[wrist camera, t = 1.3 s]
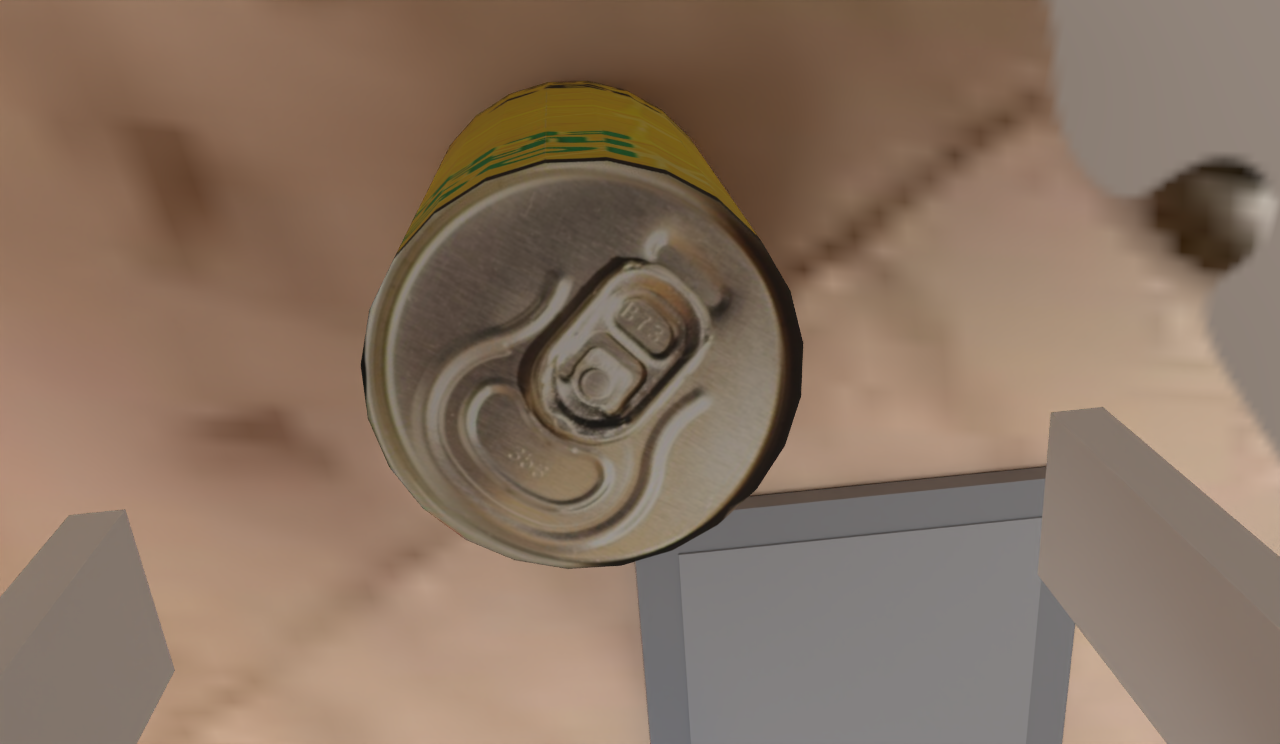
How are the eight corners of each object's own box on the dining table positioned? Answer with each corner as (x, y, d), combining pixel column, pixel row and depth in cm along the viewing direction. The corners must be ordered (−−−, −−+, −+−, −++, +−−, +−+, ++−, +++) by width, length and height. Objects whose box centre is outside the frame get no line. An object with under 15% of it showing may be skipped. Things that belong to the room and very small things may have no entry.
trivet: (659, 851, 42) (661, 869, 42) (630, 508, 36) (632, 521, 35) (1044, 807, 43) (1054, 824, 42) (1080, 463, 37) (1092, 475, 36)
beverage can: (371, 264, 32) (277, 434, 21) (535, 16, 30) (525, 60, 19) (608, 414, 35) (634, 634, 24) (776, 195, 32) (893, 327, 21)
